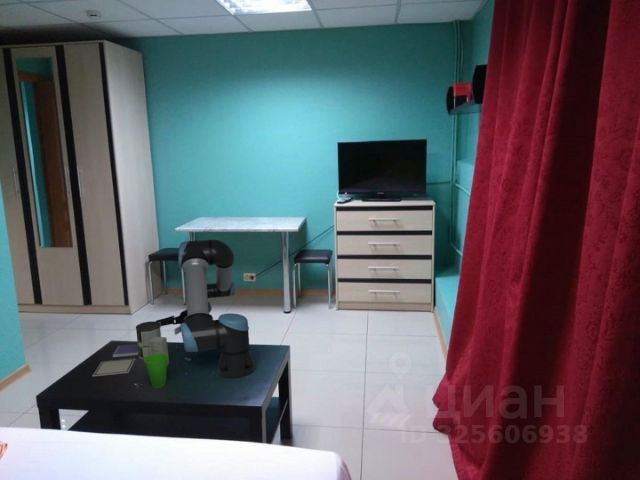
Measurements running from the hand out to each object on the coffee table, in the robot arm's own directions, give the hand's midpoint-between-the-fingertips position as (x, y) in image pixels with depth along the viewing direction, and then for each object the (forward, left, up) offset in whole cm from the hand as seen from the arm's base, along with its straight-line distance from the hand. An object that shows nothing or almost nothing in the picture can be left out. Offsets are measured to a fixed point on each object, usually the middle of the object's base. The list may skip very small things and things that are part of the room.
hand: (162, 330), depth 216 cm
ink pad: (-1, +16, -8) cm, 18 cm away
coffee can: (-8, +5, -8) cm, 13 cm away
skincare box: (-21, -1, -8) cm, 23 cm away
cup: (-39, -3, -8) cm, 40 cm away
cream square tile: (-18, +18, -8) cm, 27 cm away
